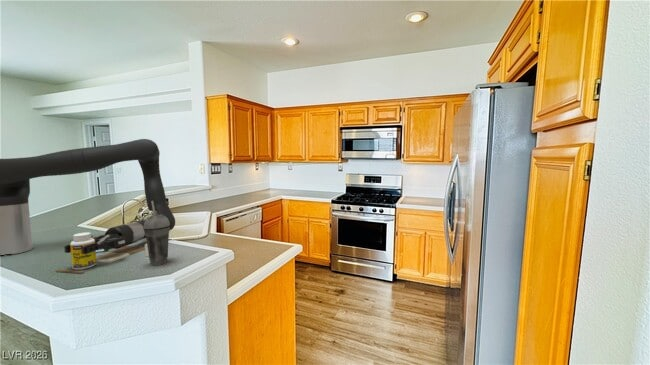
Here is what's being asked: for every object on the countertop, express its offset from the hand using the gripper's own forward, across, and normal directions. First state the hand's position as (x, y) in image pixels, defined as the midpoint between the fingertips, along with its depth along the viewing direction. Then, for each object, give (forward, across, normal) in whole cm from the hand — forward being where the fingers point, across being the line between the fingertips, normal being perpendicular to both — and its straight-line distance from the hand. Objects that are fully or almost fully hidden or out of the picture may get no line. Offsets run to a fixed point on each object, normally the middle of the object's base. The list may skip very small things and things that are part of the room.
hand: (74, 250), depth 78 cm
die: (-16, +12, +6) cm, 21 cm away
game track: (-10, 0, +6) cm, 12 cm away
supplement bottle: (-3, 0, +6) cm, 7 cm away
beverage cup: (-9, +20, +6) cm, 23 cm away
